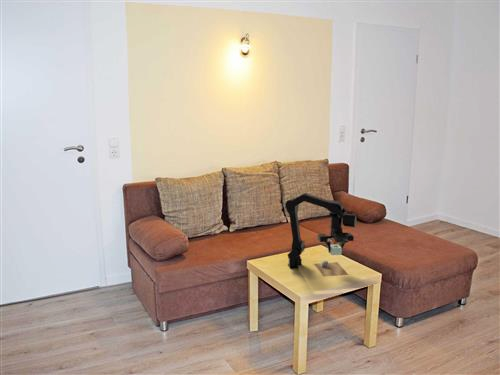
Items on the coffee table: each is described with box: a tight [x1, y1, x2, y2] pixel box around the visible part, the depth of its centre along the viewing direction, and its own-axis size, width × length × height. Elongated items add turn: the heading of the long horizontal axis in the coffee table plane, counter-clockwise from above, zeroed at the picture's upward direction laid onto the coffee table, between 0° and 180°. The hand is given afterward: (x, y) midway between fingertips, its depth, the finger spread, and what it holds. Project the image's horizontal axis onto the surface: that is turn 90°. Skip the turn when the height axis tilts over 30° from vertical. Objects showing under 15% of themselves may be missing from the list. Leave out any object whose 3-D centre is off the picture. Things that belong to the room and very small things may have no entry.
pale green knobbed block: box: [327, 243, 343, 256], centre depth 242 cm, size 6×6×4 cm
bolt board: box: [313, 260, 349, 277], centre depth 247 cm, size 14×18×4 cm
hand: (334, 252), depth 243 cm, fingers closed on pale green knobbed block, 6 cm apart
